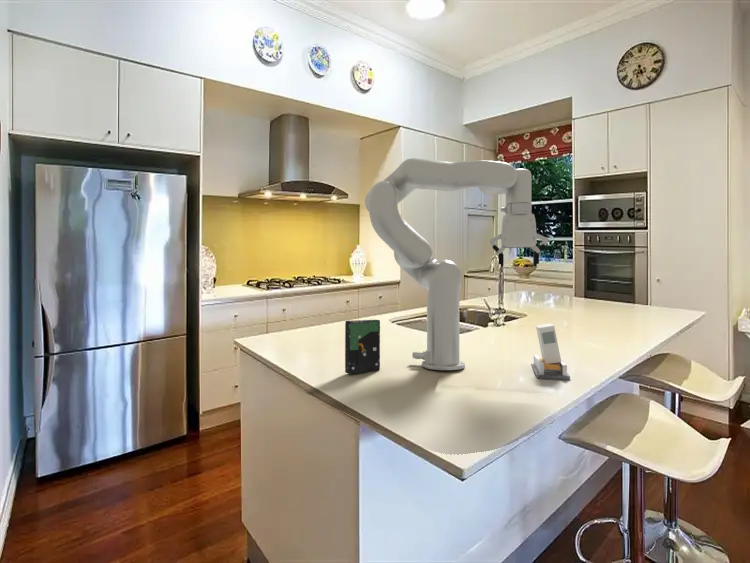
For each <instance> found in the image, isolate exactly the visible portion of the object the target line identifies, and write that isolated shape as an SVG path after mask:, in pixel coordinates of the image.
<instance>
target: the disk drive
mask: <svg viewBox="0 0 750 563" xmlns="http://www.w3.org/2000/svg"><path fill="white" fill-rule="evenodd" d="M344 326H345V328H344V330H345V331H344V333H345V334H344V335H345V336H344V337H345V338H344V340H345V341H344V343H345V345H344V356H345V357H344V368H345V369H344V372H345V374H348V375H351V374H352V375H355V374H362V373H369V372H379V370H381V368H380V367H381V361H380V360H381V354H380V353H381V345H380V344H381V321H380V319H360V320H359V319H357V320H345V324H344Z"/></svg>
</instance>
